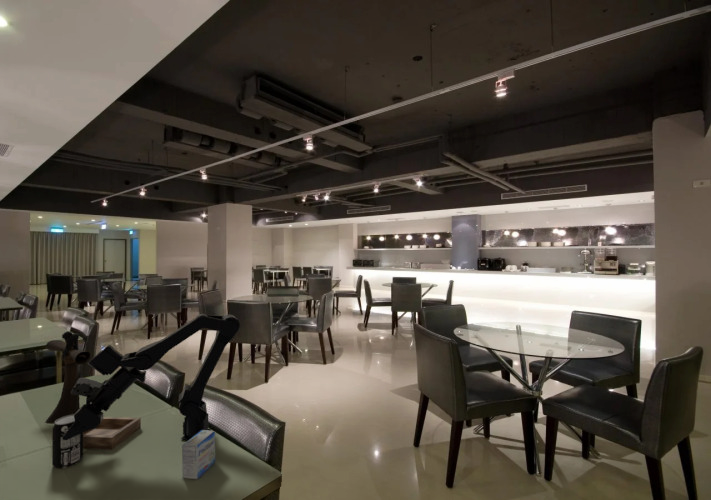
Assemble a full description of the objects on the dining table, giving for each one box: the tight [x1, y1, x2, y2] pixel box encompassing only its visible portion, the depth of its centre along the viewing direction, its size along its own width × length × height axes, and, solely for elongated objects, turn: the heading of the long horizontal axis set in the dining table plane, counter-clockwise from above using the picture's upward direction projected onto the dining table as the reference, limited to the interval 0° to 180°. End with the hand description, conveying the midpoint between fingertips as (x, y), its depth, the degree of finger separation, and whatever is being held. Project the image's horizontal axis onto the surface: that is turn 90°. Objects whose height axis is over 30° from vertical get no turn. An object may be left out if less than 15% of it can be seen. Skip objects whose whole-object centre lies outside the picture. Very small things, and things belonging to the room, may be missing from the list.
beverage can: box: [51, 414, 84, 469], centre depth 96 cm, size 7×7×12 cm
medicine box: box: [181, 430, 216, 480], centre depth 93 cm, size 8×4×9 cm, turn 168°
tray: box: [83, 416, 142, 451], centre depth 109 cm, size 16×12×4 cm
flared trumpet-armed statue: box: [45, 330, 91, 424], centre depth 124 cm, size 32×10×30 cm, turn 55°
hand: (69, 431), depth 96 cm, fingers open, 9 cm apart
